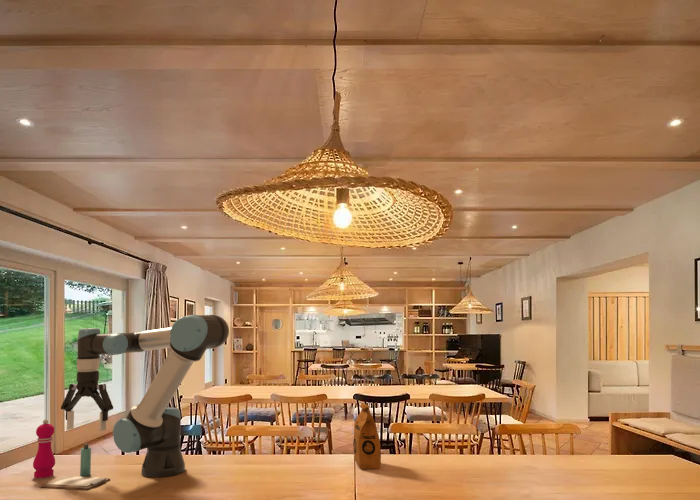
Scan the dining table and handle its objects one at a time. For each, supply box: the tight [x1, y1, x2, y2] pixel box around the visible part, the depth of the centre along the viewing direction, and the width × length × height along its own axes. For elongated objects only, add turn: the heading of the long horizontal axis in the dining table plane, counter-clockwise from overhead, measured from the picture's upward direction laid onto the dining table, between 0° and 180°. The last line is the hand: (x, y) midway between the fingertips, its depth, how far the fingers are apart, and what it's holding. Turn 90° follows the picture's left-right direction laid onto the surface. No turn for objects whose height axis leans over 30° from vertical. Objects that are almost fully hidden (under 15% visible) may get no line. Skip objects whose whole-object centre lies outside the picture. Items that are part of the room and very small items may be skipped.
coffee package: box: [352, 402, 382, 470], centre depth 220 cm, size 10×12×22 cm
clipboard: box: [40, 475, 111, 491], centre depth 203 cm, size 18×12×1 cm, turn 77°
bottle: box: [79, 443, 92, 477], centre depth 215 cm, size 3×3×11 cm
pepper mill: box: [32, 419, 56, 479], centre depth 216 cm, size 7×7×20 cm
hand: (86, 429), depth 216 cm, fingers open, 13 cm apart
